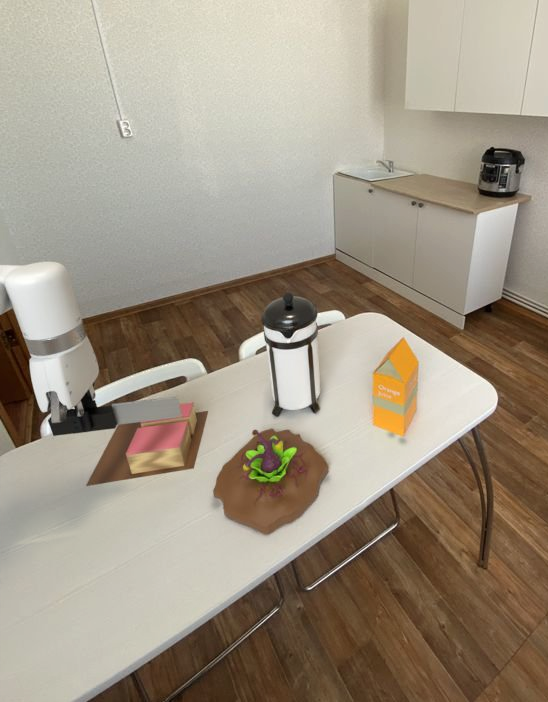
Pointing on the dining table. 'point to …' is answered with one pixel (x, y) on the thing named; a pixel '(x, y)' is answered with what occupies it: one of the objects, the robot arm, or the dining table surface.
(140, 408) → the knife
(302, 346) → the coffee press
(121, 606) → the dining table surface
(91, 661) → the dining table surface
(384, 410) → the orange juice
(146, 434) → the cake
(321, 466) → the plant
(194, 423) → the cake slice
